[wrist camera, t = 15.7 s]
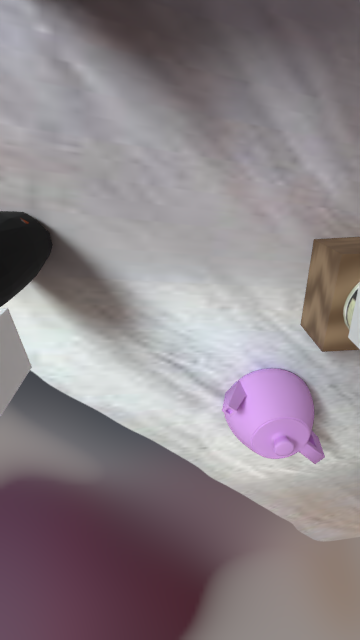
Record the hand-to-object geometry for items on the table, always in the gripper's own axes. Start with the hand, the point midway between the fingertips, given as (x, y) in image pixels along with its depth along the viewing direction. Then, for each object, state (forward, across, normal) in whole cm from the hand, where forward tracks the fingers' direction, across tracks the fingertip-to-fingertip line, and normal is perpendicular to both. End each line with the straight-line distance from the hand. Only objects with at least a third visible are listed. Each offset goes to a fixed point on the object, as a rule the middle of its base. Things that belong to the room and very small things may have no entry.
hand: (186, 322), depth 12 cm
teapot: (+33, +13, -36) cm, 50 cm away
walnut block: (+33, +26, -14) cm, 45 cm away
